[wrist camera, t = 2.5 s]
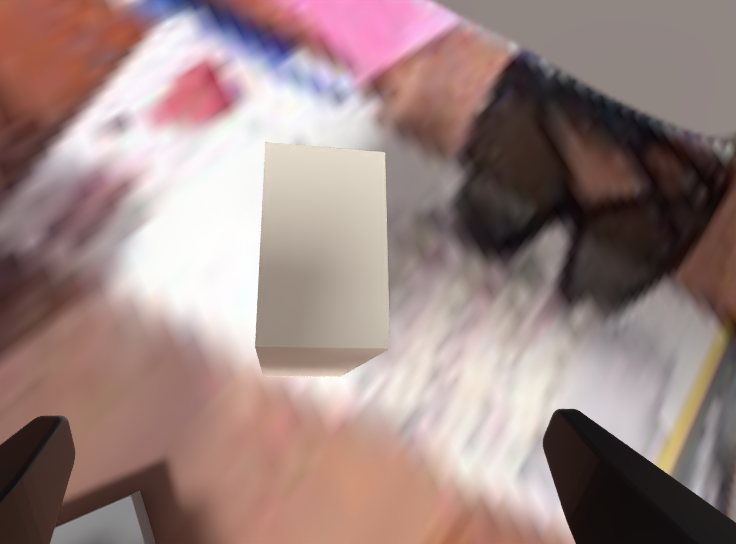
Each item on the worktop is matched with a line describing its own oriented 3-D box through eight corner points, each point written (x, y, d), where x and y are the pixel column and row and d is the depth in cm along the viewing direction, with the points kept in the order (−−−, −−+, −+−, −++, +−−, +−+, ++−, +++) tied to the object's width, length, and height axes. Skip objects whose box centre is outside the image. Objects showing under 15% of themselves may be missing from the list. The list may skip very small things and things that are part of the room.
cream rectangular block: (339, 376, 20) (389, 348, 11) (263, 377, 19) (255, 347, 11) (340, 246, 21) (384, 135, 13) (269, 243, 21) (266, 124, 12)
